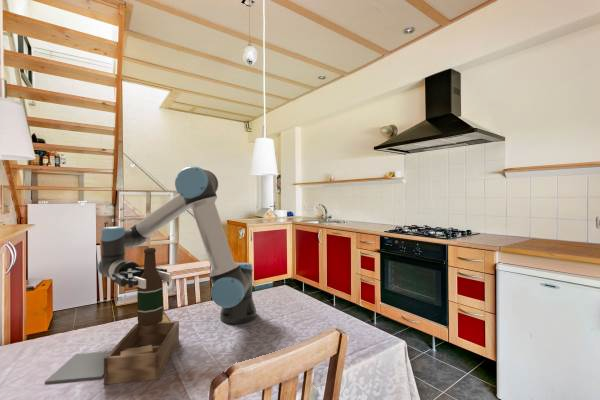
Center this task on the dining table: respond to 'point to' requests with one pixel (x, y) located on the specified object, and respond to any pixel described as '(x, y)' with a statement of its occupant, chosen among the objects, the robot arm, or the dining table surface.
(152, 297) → the beer bottle
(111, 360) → the wooden box
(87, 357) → the plate
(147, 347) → the offcut upper
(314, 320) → the dining table surface
